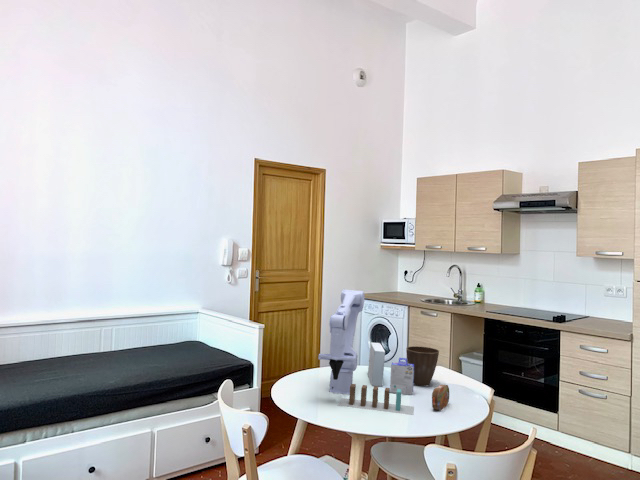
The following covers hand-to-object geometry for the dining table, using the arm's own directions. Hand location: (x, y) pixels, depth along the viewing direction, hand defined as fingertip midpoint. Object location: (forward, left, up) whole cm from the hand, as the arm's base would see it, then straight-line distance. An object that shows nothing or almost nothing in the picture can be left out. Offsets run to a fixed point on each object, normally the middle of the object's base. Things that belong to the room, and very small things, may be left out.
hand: (335, 379), depth 196 cm
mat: (+17, 0, -9) cm, 19 cm away
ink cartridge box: (+25, +24, -9) cm, 36 cm away
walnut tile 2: (+12, 0, -9) cm, 14 cm away
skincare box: (+12, +39, -9) cm, 42 cm away
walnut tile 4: (+21, 0, -9) cm, 22 cm away
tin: (+41, +9, -9) cm, 43 cm away
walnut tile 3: (+16, 0, -9) cm, 18 cm away
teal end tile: (+25, 0, -9) cm, 26 cm away
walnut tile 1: (+7, 0, -9) cm, 11 cm away
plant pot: (+33, +41, -9) cm, 53 cm away
